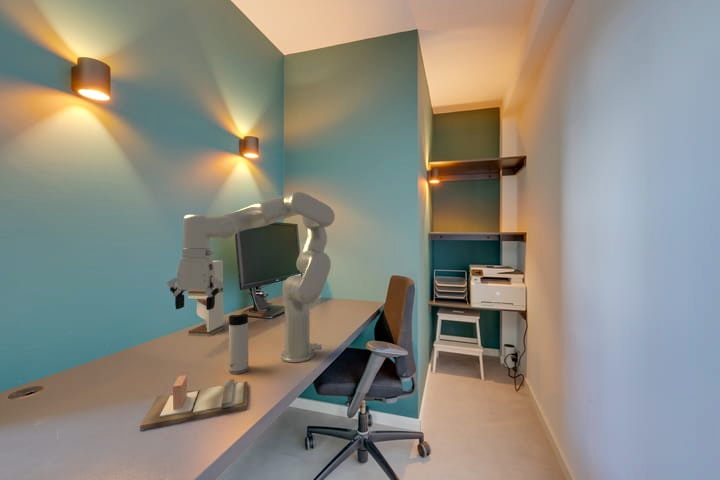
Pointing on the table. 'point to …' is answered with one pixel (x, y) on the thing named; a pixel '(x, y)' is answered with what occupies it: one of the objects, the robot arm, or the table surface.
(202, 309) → the display case
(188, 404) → the stub
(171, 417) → the ticket board
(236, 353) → the travel mug
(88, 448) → the table surface
